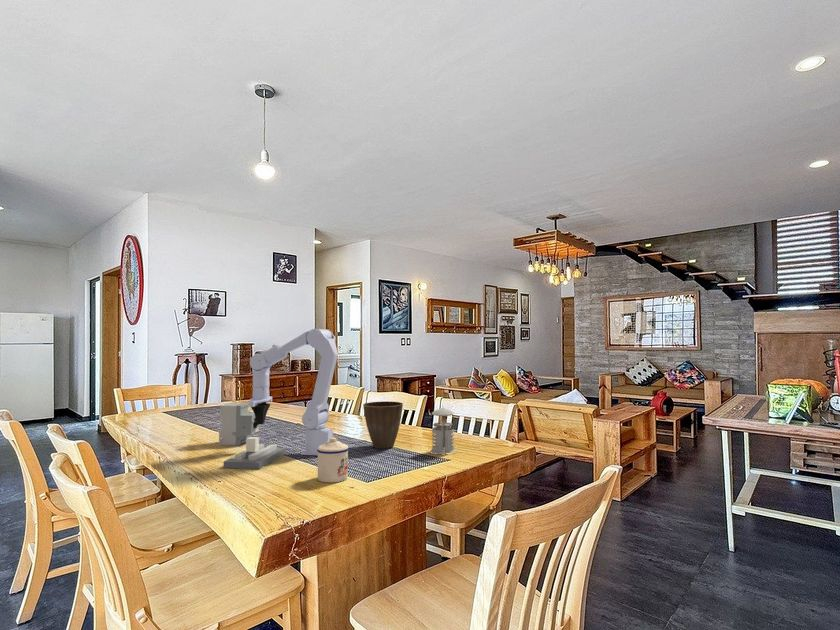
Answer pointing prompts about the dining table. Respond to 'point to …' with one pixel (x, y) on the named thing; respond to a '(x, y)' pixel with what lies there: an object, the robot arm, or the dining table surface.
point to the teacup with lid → (332, 461)
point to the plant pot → (383, 422)
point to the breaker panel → (257, 462)
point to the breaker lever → (252, 445)
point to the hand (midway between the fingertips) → (260, 423)
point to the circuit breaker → (236, 423)
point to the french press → (443, 433)
